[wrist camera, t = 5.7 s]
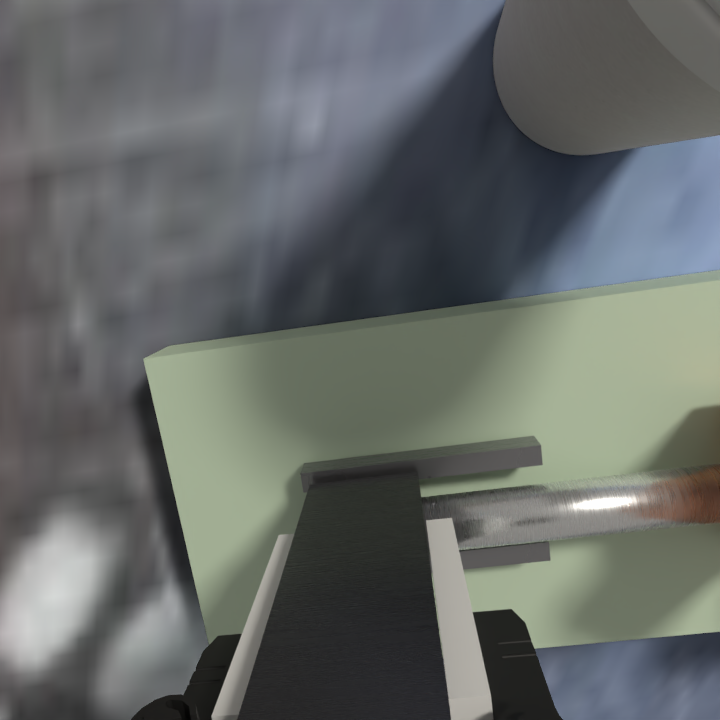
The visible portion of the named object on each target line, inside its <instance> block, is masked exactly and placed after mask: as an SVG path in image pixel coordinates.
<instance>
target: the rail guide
mask: <svg viewBox="0 0 720 720" xmlns="http://www.w3.org/2000/svg"><path fill="white" fill-rule="evenodd" d="M539 465H543V463H542V451H541V444H540V443H539V442H538V440H537V439H536V438H535V436H527V437H518V438H510V439H501V440H493V441H485V442H476V443H468V444H460V445H451V446H443V447H435V448H426V449H418V450H409V451H401V452H393V453H384V454H376V455H368V456H359V457H351V458H343V459H334V460H326V461H318V462H309V463H304V464H303V467H302V470H301V473H300V475H301V481H302V487H303V492H304V493H306V492H308V488H309V485H310V484H319V483H327V482H336V481H344V480H353V479H362V478H370V477H379V476H387V475H396V474H405V473H413V472H418V477H419V479H427V478H435V477H444V476H453V475H461V474H470V473H479V472H487V471H496V470H505V469H513V468H522V467H531V466H539ZM459 552H460V557H461V562H462V566H463V570H464V569H474V568H484V567H493V566H503V565H513V564H522V563H532V562H542V561H551V559H550V547H549V541H544V542H534V543H525V544H515V545H506V546H497V547H487V548H478V549H468V550H459ZM429 559H430V567H431V573H432V565H431V557H430V554H429Z"/></svg>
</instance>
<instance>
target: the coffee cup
mask: <svg viewBox="0 0 720 720" xmlns="http://www.w3.org/2000/svg"><path fill="white" fill-rule="evenodd" d="M493 71H494V79H495V84H496V88H497V92H498V95H499V97H500V100H501V102H502V105H503V107H504V109H505V110H506V112H507V114H508V116H509V117H510V118H511V120H512V121H513V123H514V124H515V125H516V126H517V127H518V128H519V129H520V130H521V131H522V132H523V133H524V134H525V135H526V136H527V137H529V138H530V139H531V140H533V141H534V142H536V143H537V144H539V145H541V146H543V147H545V148H547V149H550V150H553V151H556V152H559V153H564V154H570V155H594V154H601V153H607V152H614V151H620V150H626V149H633V148H639V147H646V146H652V145H659V144H665V143H672V142H678V141H685V140H691V139H698V138H704V137H711V136H717V135H720V0H506V2H505V5H504V8H503V12H502V15H501V19H500V22H499V25H498V29H497V33H496V37H495V43H494V51H493Z"/></svg>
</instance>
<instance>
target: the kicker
mask: <svg viewBox="0 0 720 720" xmlns="http://www.w3.org/2000/svg"><path fill="white" fill-rule="evenodd" d="M444 518H452V521H453V525H454V530H455V534H456V539H457V543H458V548H459V550H468V549H478V548H487V547H497V546H506V545H515V544H525V543H534V542H544V541H553V540H563V539H572V538H582V537H591V536H601V535H610V534H620V533H629V532H638V531H648V530H657V529H667V528H676V527H686V526H695V525H705V524H714V523H720V463H718V464H710V465H701V466H692V467H683V468H674V469H665V470H657V471H648V472H639V473H630V474H621V475H612V476H604V477H595V478H586V479H577V480H568V481H559V482H551V483H542V484H533V485H524V486H515V487H507V488H498V489H489V490H480V491H471V492H462V493H454V494H445V495H436V496H427V497H421V492H420V485H419V477H418V472H413V473H405V474H396V475H387V476H379V477H370V478H362V479H353V480H344V481H336V482H327V483H319V484H310V485H309V488H308V492H307V495H306V498H305V501H304V505H303V508H302V511H301V514H300V517H299V521H298V524H297V527H296V530H295V534H294V537H293V540H292V543H291V547H290V550H289V553H288V556H287V560H286V563H285V566H284V569H283V573H282V576H281V579H280V582H279V585H278V589H277V592H276V595H275V598H274V602H273V605H272V608H271V611H270V615H269V618H268V621H267V624H266V628H265V631H264V634H263V637H262V640H261V644H260V647H259V650H258V653H257V657H256V660H255V663H254V666H253V670H252V673H251V676H250V679H249V683H248V686H247V689H246V692H245V695H244V699H243V702H242V705H241V708H240V712H239V715H238V718H237V720H451V716H450V709H449V701H448V694H447V686H446V679H445V671H444V664H443V656H442V649H441V641H440V634H439V626H438V619H437V612H436V604H435V597H434V589H433V582H432V574H431V567H430V559H429V554H430V549H429V541H428V532H427V524H426V520H434V519H444Z"/></svg>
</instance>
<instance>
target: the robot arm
mask: <svg viewBox="0 0 720 720" xmlns="http://www.w3.org/2000/svg"><path fill="white" fill-rule="evenodd" d="M426 524H427V532H428V541H429V549H430V557H431V565H432V573H433V581H434V589H435V598H436V606H437V614H438V621H439V629H440V637H441V645H442V653H443V661H444V669H445V677H446V685H447V693H448V701H449V709H450V716H451V720H563V719H562V718H561V717H560V716H559V714H558V712H557V710H556V708H555V706H554V703H553V700H552V697H551V695H550V692H549V689H548V686H547V683H546V680H545V678H544V675H543V672H542V669H541V666H540V663H539V660H538V658H537V656H536V652H535V649H534V646H533V643H532V642H531V638H530V635H529V632H528V629H527V626H526V623H525V622H524V621H523V620H522V619H521V618H520V617H519V616H518V615H517V614H516V613H515V612H514V611H513V610H512V609H504V610H492V611H481V612H473V611H472V607H471V602H470V598H469V593H468V589H467V584H466V580H465V575H464V571H463V566H462V562H461V557H460V552H459V548H458V543H457V539H456V534H455V530H454V525H453V521H452V518H444V519H434V520H426ZM294 534H295V533H294ZM294 534H284V535H279V536H278V538H277V541H276V544H275V546H274V549H273V552H272V555H271V557H270V560H269V563H268V565H267V568H266V571H265V573H264V576H263V579H262V581H261V584H260V587H259V590H258V592H257V595H256V598H255V600H254V603H253V606H252V608H251V611H250V614H249V616H248V619H247V622H246V625H245V627H244V630H243V633H242V634H232V635H220V636H217V637H216V638H215V639H214V640H213V642H212V643H211V644H210V645H209V646H208V647H207V648H206V649H205V650H204V651H203V653H202V655H201V658H200V660H199V662H198V664H197V666H196V671H194V673H193V675H192V678H191V680H190V685H188V687H187V689H186V691H185V693H184V695H168V696H165V697H162V698H159V699H157V700H154V701H153V702H151V703H149V704H148V705H146V706H145V707H143V708H142V709H141V710H140V711H139V712H138V713H137V714H136V715H135V716H134V717H133V718H132V719H131V720H237V718H238V715H239V712H240V708H241V705H242V702H243V699H244V695H245V692H246V689H247V686H248V683H249V679H250V676H251V673H252V670H253V666H254V663H255V660H256V657H257V653H258V650H259V647H260V644H261V640H262V637H263V634H264V631H265V628H266V624H267V621H268V618H269V615H270V611H271V608H272V605H273V602H274V598H275V595H276V592H277V589H278V585H279V582H280V579H281V576H282V573H283V569H284V566H285V563H286V560H287V556H288V553H289V550H290V547H291V543H292V540H293V537H294Z"/></svg>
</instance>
